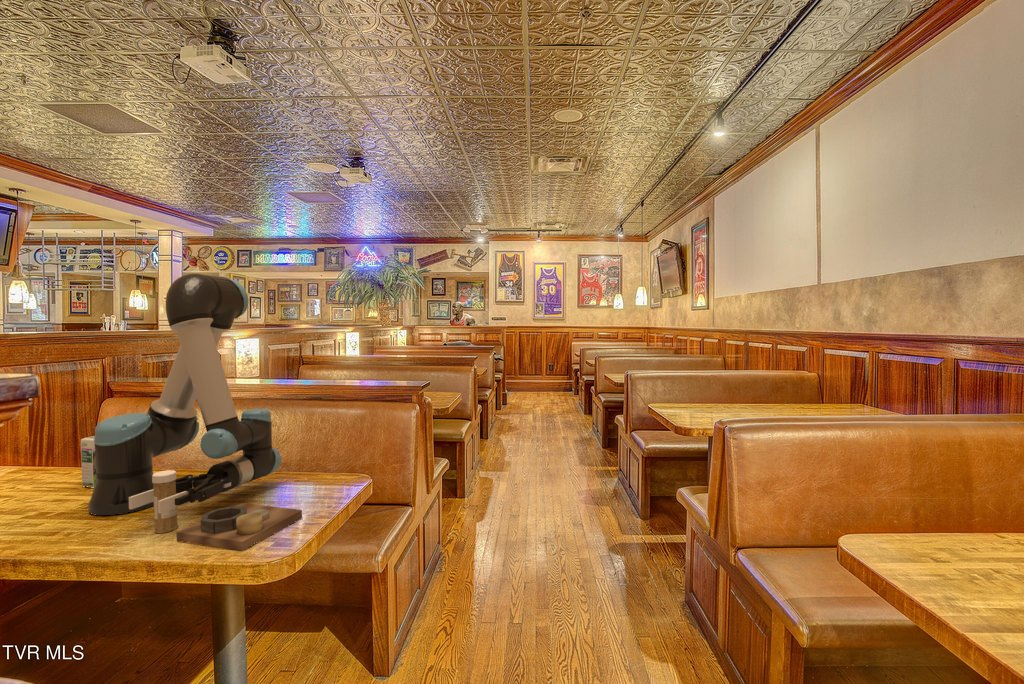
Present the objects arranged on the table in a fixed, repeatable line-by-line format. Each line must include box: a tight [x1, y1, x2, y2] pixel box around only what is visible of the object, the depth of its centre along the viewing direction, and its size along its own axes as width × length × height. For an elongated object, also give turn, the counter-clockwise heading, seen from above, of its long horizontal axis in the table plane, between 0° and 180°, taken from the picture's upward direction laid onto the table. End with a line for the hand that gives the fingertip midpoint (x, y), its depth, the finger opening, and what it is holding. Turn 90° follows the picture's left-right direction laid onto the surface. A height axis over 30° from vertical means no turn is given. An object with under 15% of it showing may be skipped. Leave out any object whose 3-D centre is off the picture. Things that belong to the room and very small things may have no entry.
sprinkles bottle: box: [152, 469, 179, 534], centre depth 114 cm, size 5×5×14 cm
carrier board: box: [175, 502, 303, 552], centre depth 114 cm, size 18×18×5 cm
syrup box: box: [80, 435, 97, 487], centre depth 146 cm, size 6×6×14 cm
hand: (144, 505), depth 109 cm, fingers open, 8 cm apart
